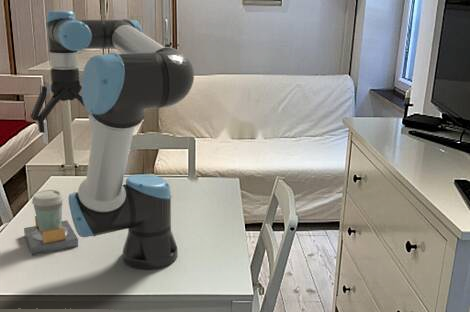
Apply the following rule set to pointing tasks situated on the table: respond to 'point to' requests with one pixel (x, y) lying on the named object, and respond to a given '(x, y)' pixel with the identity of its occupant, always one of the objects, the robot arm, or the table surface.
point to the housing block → (50, 238)
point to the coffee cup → (48, 209)
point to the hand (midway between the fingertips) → (69, 140)
